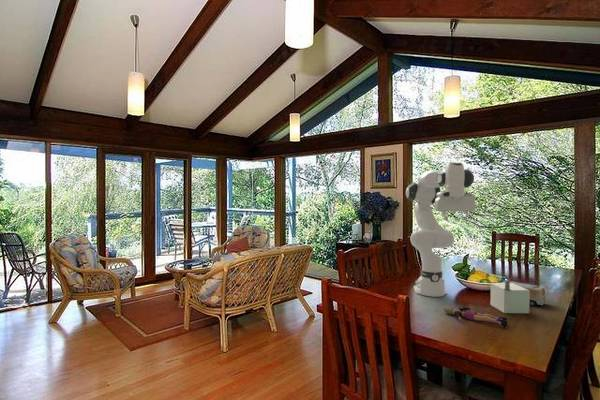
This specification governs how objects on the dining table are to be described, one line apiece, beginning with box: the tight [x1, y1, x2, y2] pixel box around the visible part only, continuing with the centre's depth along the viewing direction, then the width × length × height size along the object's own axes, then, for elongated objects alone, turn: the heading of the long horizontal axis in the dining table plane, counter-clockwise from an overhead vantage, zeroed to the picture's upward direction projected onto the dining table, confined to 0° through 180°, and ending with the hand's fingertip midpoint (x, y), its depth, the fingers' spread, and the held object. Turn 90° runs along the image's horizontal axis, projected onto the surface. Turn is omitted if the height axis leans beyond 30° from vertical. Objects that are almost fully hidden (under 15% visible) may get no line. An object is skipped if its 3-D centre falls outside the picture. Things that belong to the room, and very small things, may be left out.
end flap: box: [504, 279, 530, 314], centre depth 177 cm, size 2×12×17 cm, turn 89°
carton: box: [489, 282, 527, 314], centre depth 185 cm, size 14×12×12 cm
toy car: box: [510, 281, 547, 307], centre depth 198 cm, size 11×25×10 cm, turn 44°
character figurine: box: [443, 305, 508, 329], centre depth 169 cm, size 20×4×28 cm
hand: (454, 220), depth 180 cm, fingers open, 8 cm apart
